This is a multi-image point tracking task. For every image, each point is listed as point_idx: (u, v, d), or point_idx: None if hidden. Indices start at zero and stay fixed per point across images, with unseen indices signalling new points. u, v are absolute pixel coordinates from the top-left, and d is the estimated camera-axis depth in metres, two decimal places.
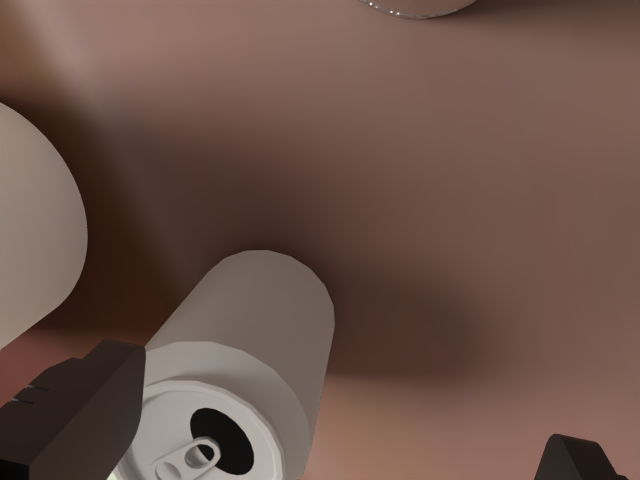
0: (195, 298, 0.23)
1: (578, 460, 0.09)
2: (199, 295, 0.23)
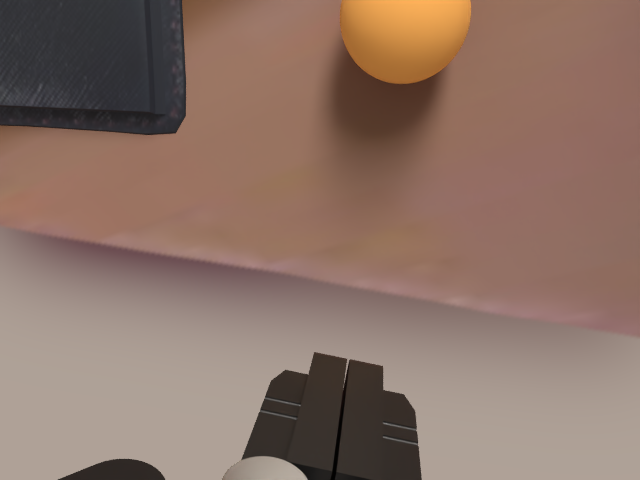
0: None
1: (354, 377, 0.10)
2: None
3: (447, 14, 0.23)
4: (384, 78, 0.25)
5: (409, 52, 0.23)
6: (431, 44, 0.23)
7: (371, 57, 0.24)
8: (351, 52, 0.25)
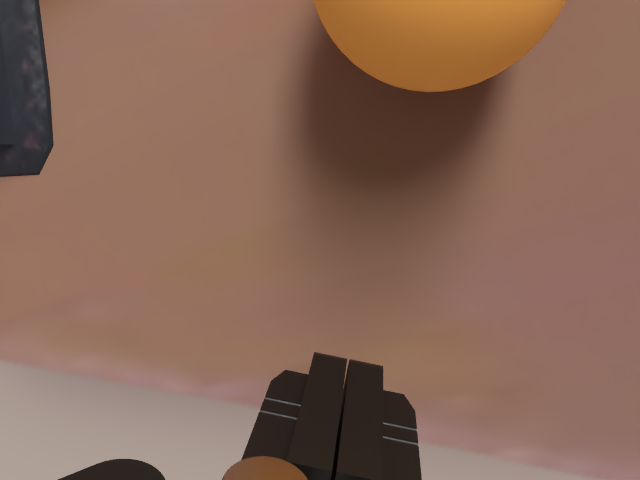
0: None
1: (354, 377, 0.10)
2: None
3: None
4: (397, 81, 0.12)
5: (454, 22, 0.10)
6: (506, 4, 0.10)
7: (370, 35, 0.11)
8: (329, 28, 0.12)
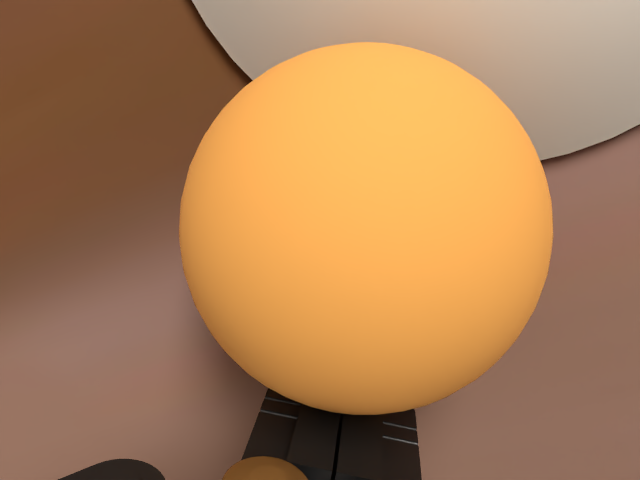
0: None
1: None
2: None
3: (503, 122, 0.07)
4: (280, 323, 0.07)
5: (382, 174, 0.06)
6: (462, 172, 0.06)
7: (245, 206, 0.07)
8: (188, 242, 0.08)
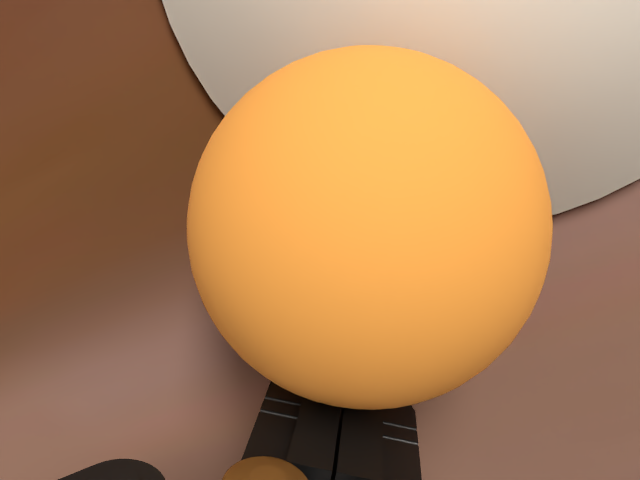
0: None
1: None
2: None
3: (501, 106, 0.08)
4: (288, 273, 0.07)
5: (392, 126, 0.07)
6: (466, 131, 0.07)
7: (260, 160, 0.07)
8: (198, 212, 0.08)
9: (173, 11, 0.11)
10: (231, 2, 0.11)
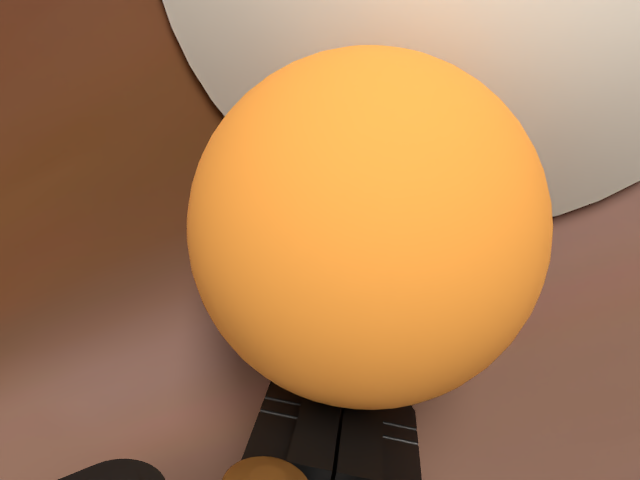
0: None
1: None
2: None
3: (501, 106, 0.08)
4: (288, 273, 0.07)
5: (392, 126, 0.07)
6: (466, 131, 0.07)
7: (259, 160, 0.07)
8: (198, 212, 0.08)
9: (174, 13, 0.11)
10: (232, 4, 0.11)
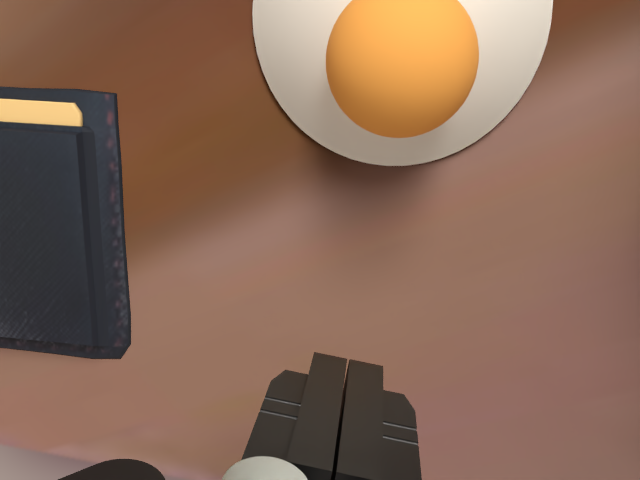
0: None
1: (354, 377, 0.10)
2: None
3: None
4: None
5: None
6: None
7: None
8: None
9: (264, 66, 0.25)
10: (291, 62, 0.25)
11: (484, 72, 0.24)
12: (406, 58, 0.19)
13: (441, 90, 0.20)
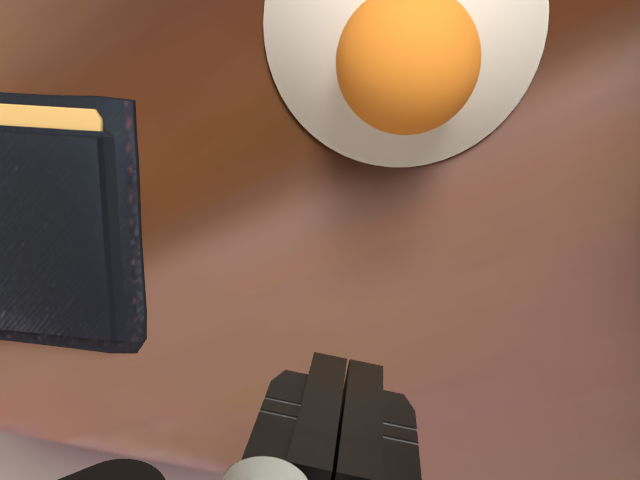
0: None
1: (354, 377, 0.10)
2: None
3: None
4: None
5: None
6: None
7: None
8: None
9: (274, 72, 0.26)
10: (300, 69, 0.26)
11: (484, 77, 0.25)
12: (416, 52, 0.20)
13: (448, 84, 0.21)
